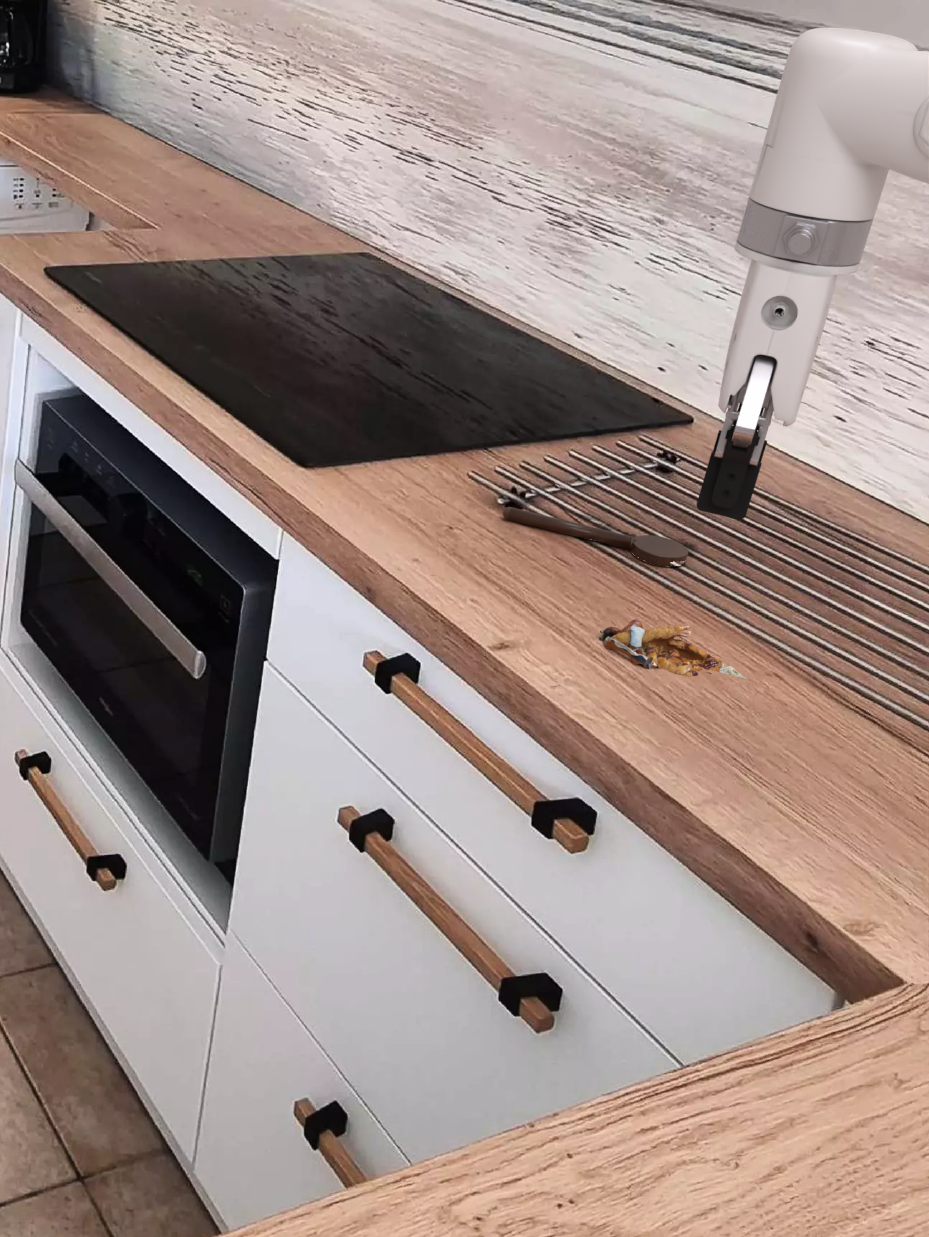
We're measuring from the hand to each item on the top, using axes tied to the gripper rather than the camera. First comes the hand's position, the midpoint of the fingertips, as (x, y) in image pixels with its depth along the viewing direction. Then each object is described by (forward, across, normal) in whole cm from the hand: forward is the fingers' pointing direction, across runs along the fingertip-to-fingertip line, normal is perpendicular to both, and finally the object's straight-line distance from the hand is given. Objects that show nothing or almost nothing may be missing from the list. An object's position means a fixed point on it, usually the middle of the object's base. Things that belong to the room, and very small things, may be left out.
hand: (724, 499), depth 116 cm
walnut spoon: (+17, +32, +9) cm, 37 cm away
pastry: (+18, +8, 0) cm, 19 cm away
